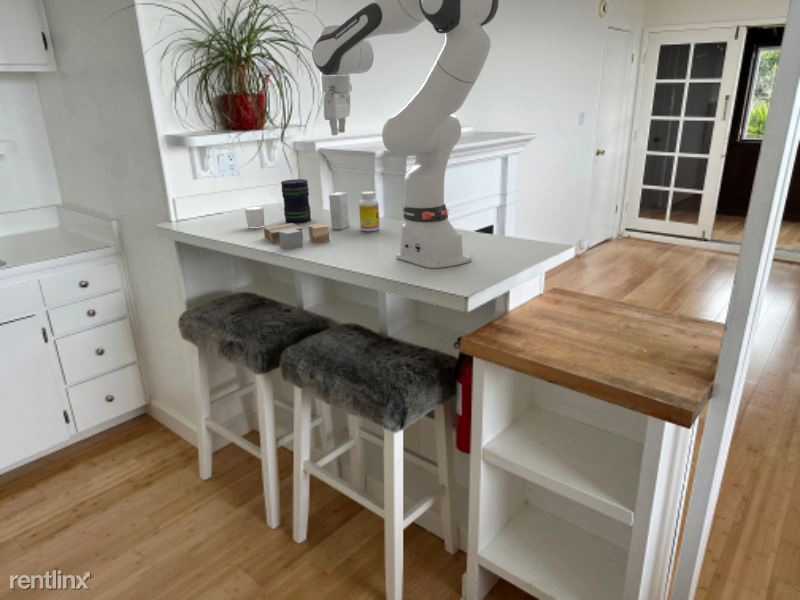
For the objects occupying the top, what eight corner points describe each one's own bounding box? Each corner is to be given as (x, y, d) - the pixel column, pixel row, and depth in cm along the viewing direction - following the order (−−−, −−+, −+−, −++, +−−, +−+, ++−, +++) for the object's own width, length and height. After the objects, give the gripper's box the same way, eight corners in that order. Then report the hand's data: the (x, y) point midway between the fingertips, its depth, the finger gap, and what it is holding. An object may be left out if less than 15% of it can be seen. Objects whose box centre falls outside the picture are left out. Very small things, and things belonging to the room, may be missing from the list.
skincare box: (338, 225, 204) (336, 191, 200) (349, 225, 202) (347, 192, 198) (331, 229, 199) (328, 194, 194) (342, 229, 197) (339, 195, 193)
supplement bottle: (379, 231, 192) (377, 193, 187) (359, 232, 192) (357, 194, 188) (380, 227, 198) (378, 190, 194) (361, 227, 198) (359, 191, 194)
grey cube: (302, 246, 177) (301, 230, 175) (289, 249, 174) (287, 233, 172) (294, 243, 181) (292, 228, 179) (280, 247, 178) (278, 231, 176)
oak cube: (329, 241, 182) (328, 225, 181) (314, 243, 180) (313, 228, 178) (324, 238, 186) (322, 223, 185) (309, 240, 184) (308, 225, 183)
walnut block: (303, 240, 186) (301, 228, 185) (273, 245, 182) (272, 232, 180) (293, 234, 194) (292, 223, 193) (264, 238, 190) (263, 227, 188)
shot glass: (261, 229, 203) (259, 209, 200) (243, 229, 204) (241, 209, 202) (268, 224, 209) (266, 206, 207) (251, 224, 210) (248, 206, 208)
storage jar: (282, 220, 216) (278, 180, 211) (307, 217, 219) (304, 178, 214) (288, 225, 207) (283, 184, 202) (314, 221, 211) (310, 181, 206)
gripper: (338, 86, 160) (341, 136, 165) (352, 85, 179) (354, 131, 184) (316, 86, 161) (320, 137, 166) (333, 86, 180) (335, 131, 185)
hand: (338, 133), depth 175 cm, fingers open, 8 cm apart
